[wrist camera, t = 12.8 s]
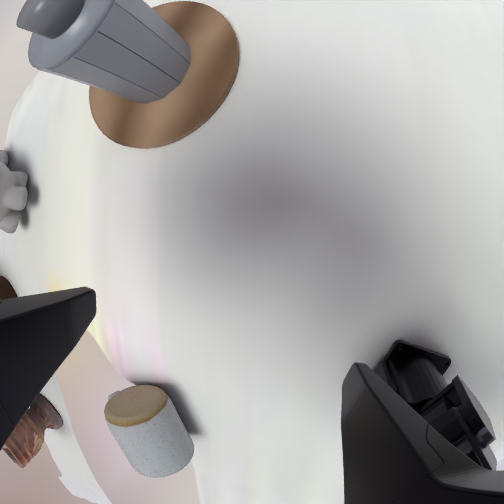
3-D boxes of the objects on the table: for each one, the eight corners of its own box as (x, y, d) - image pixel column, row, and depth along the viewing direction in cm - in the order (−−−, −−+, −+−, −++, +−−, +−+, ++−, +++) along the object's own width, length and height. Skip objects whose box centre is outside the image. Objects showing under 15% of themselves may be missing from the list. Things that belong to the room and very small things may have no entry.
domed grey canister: (189, 24, 17) (96, -66, 5) (192, 91, 18) (68, 14, 6) (122, 48, 19) (15, -5, 6) (120, 112, 20) (-11, 81, 7)
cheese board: (266, 20, 18) (257, -8, 14) (208, 169, 22) (185, 165, 18) (136, 13, 19) (113, -5, 15) (86, 134, 23) (55, 130, 19)
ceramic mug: (178, 380, 25) (139, 431, 18) (204, 435, 27) (179, 486, 19) (104, 376, 28) (65, 412, 21) (133, 426, 30) (102, 464, 22)
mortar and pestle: (48, 427, 37) (-8, 481, 18) (22, 392, 36) (-40, 441, 17) (72, 427, 34) (6, 495, 15) (41, 386, 33) (-35, 448, 14)
